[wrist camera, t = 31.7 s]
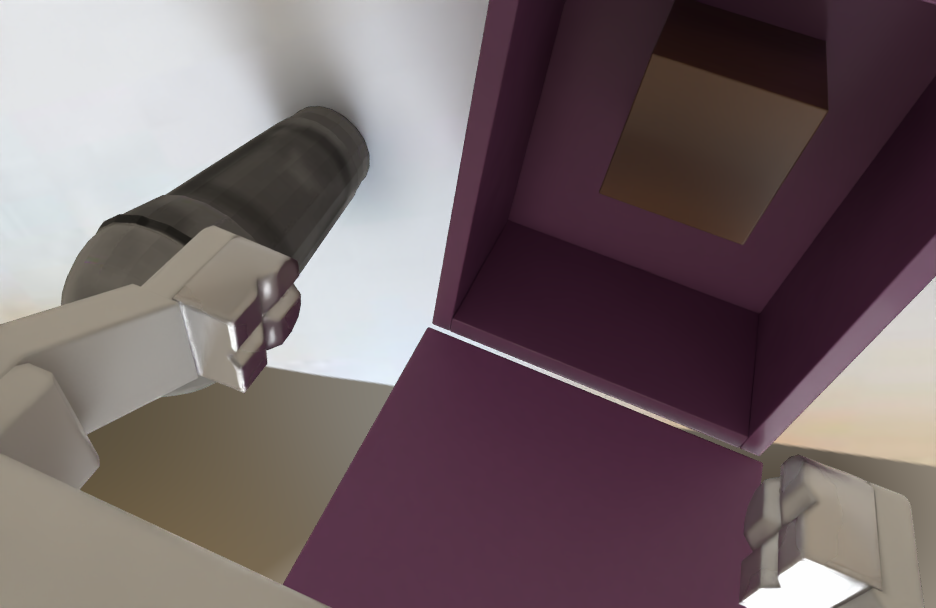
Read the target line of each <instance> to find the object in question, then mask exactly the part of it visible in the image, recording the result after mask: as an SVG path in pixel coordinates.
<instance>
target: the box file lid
mask: <svg viewBox="0 0 936 608" xmlns="http://www.w3.org/2000/svg"><path fill="white" fill-rule="evenodd" d="M762 467H763V463H762V462H759V461H757V460H754V459H752V458H749V457H747V456H744V455H742V454H740V453H737V452H735V451H732V450H730V449H727V448H725V447H722V446H720V445H717V444H715V443H713V442H710V441H708V440H705V439H703V438H700V437H698V436H695V435H693V434H690V433H687V432H686V431H683V430H681V429H678V428H676V427H673V426H671V425H668V424H666V423H663V422H661V421H658V420H656V419H654V418H651V417H649V416H646V415H644V414H641V413H639V412H636V411H634V410H631V409H629V408H626V407H624V406H621V405H619V404H617V403H614V402H612V401H609V400H607V399H604V398H602V397H599V396H597V395H594V394H592V393H589V392H587V391H585V390H582V389H580V388H577V387H575V386H572V385H570V384H567V383H565V382H562V381H560V380H557V379H555V378H553V377H550V376H548V375H545V374H543V373H540V372H538V371H535V370H533V369H530V368H528V367H525V366H523V365H521V364H518V363H516V362H513V361H511V360H508V359H506V358H503V357H501V356H498V355H496V354H493V353H491V352H489V351H486V350H484V349H481V348H479V347H476V346H474V345H471V344H469V343H466V342H464V341H461V340H459V339H457V338H454V337H452V336H449V335H447V334H444V333H442V332H439V331H437V330H434V329H432V328H427V329H426V331H425V333H424V335H423V337H422V338H421V340H420V342H419V344H418V345H417V347H416V349H415V351H414V353H413V354H412V356H411V358H410V360H409V361H408V363H407V365H406V367H405V368H404V370H403V372H402V374H401V376H400V377H399V379H398V381H397V383H396V384H395V386H394V388H393V390H392V392H391V393H390V395H389V397H388V399H387V401H386V402H385V404H384V406H383V408H382V409H381V411H380V413H379V415H378V417H377V418H376V420H375V422H374V423H373V426H372V427H371V429H370V431H369V432H368V434H367V436H366V438H365V440H364V441H363V443H362V445H361V447H360V448H359V450H358V452H357V454H356V455H355V457H354V459H353V461H352V463H351V464H350V466H349V468H348V470H347V472H346V473H345V475H344V477H343V479H342V480H341V482H340V484H339V486H338V487H337V489H336V491H335V493H334V495H333V496H332V498H331V500H330V502H329V504H328V505H327V507H326V509H325V511H324V512H323V514H322V516H321V518H320V519H319V521H318V523H317V525H316V526H315V528H314V530H313V532H312V534H311V535H310V537H309V539H308V541H307V542H306V544H305V546H304V548H303V549H302V551H301V553H300V555H299V557H298V559H297V560H296V562H295V564H294V565H293V567H292V569H291V571H290V573H289V574H288V576H287V578H286V580H285V581H284V583H283V585H284V586H286V587H289V588H291V589H293V590H295V591H297V592H299V593H301V594H304V595H306V596H308V597H310V598H312V599H314V600H317V601H319V602H321V603H323V604H325V605H327V606H329V607H332V608H747V607H745V606H743V605H741V604H739V596H740V580H741V564H742V561H743V560H744V559H745V558H746V557H748V556H749V555H750V554H751V553H752V552H753V551H752V550H751V548H750V546H749V544H748V542H747V540H746V538H745V536H744V524H745V517H746V512H747V508H748V505H749V503H750V501H751V499H752V496H753V494H754V492H755V490H756V489H757V488H758V487H759V486H760V485H761V476H762Z"/></svg>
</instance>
